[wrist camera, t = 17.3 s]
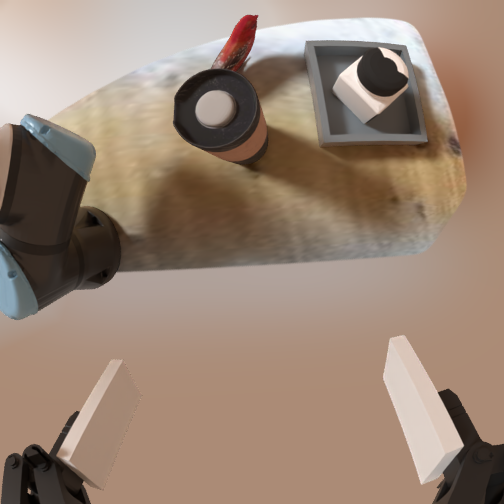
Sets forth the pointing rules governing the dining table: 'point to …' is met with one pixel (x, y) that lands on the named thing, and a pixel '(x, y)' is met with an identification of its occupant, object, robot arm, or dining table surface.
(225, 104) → the travel mug
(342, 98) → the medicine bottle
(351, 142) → the open-top bin
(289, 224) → the dining table surface
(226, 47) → the decorative bird figurine
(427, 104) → the dining table surface
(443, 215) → the dining table surface
